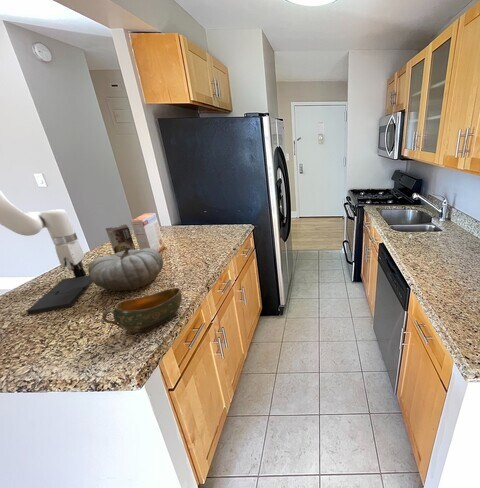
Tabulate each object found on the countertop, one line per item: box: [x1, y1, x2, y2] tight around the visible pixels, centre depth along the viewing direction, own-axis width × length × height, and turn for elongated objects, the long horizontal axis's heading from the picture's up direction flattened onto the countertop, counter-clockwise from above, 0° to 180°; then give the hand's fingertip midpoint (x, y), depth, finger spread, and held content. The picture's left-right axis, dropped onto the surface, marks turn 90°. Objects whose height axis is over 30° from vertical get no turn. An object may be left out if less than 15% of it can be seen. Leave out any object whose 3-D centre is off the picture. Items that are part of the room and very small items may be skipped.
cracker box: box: [130, 212, 166, 253], centre depth 139 cm, size 14×6×21 cm, turn 6°
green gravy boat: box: [101, 287, 182, 334], centre depth 87 cm, size 13×20×10 cm, turn 111°
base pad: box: [26, 288, 85, 315], centre depth 100 cm, size 12×12×2 cm
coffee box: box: [105, 224, 137, 254], centre depth 136 cm, size 9×6×16 cm
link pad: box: [47, 274, 93, 295], centre depth 109 cm, size 12×14×2 cm
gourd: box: [87, 247, 164, 291], centre depth 109 cm, size 25×25×17 cm
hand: (81, 276), depth 117 cm, fingers closed
